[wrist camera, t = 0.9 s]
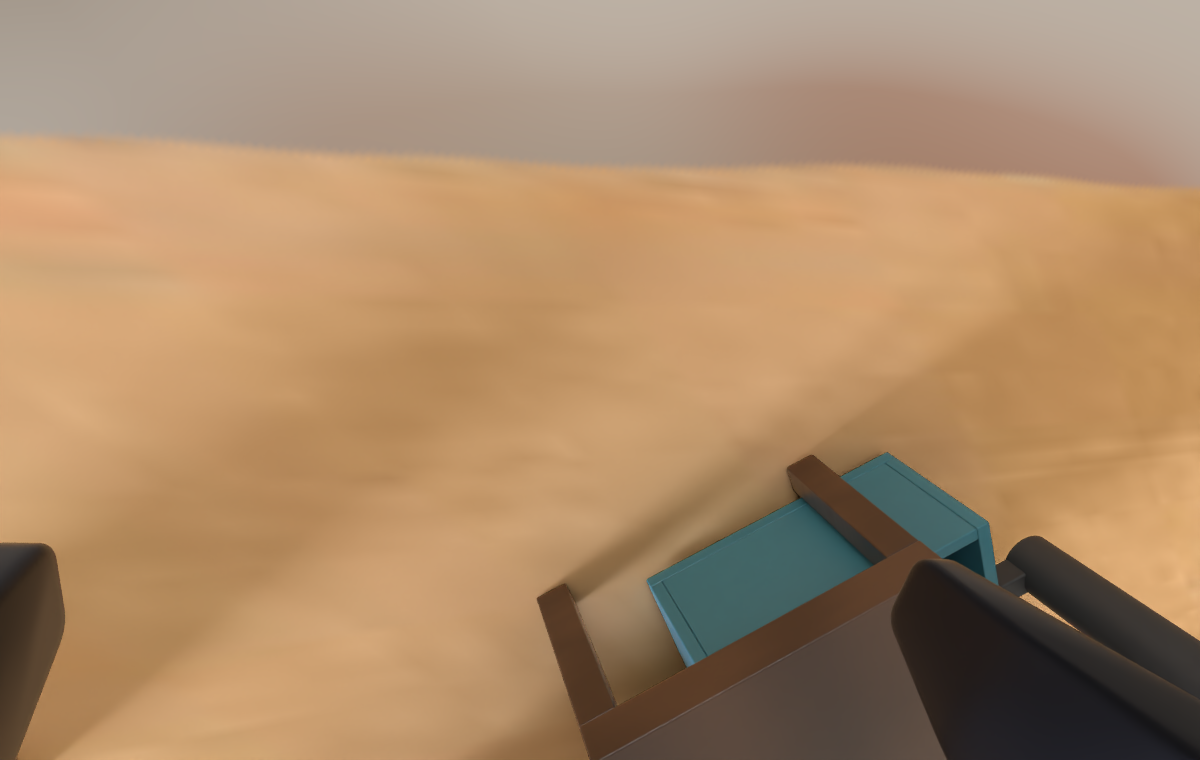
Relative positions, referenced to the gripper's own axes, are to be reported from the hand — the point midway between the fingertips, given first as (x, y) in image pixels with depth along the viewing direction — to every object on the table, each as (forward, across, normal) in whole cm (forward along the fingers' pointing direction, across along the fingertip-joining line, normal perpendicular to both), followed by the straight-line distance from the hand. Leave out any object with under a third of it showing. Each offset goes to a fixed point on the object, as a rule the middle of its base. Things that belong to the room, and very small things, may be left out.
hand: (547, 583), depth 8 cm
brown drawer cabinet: (+14, -12, +16) cm, 25 cm away
